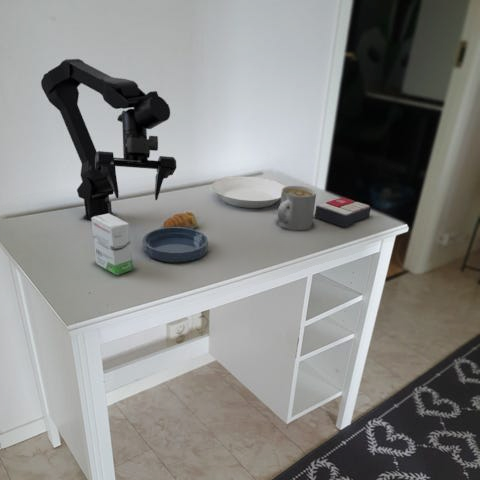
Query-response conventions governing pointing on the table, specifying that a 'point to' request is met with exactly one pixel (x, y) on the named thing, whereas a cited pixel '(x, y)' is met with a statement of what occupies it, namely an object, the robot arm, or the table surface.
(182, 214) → the pastry
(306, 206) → the coffee mug
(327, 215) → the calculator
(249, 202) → the bowl
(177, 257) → the glazed bowl
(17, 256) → the table surface
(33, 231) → the table surface
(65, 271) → the table surface
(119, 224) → the ink box
